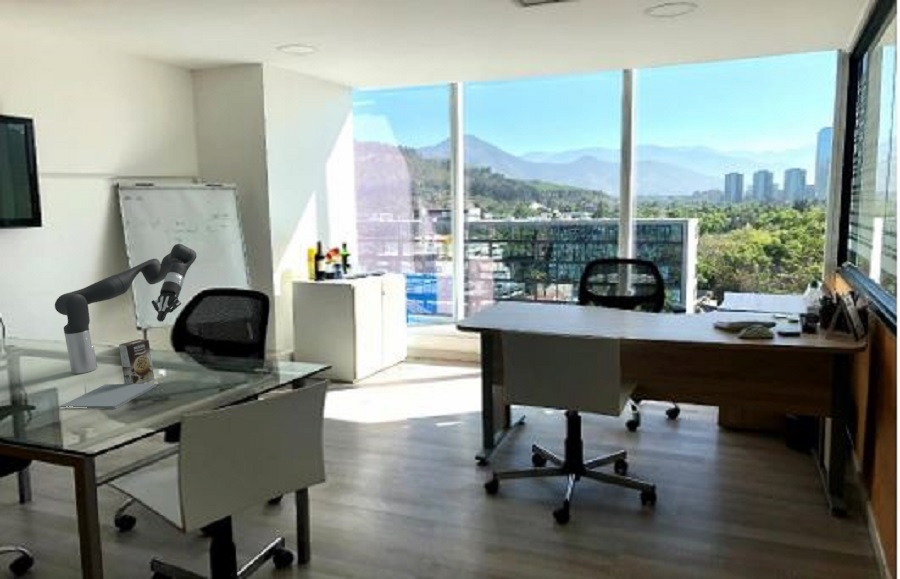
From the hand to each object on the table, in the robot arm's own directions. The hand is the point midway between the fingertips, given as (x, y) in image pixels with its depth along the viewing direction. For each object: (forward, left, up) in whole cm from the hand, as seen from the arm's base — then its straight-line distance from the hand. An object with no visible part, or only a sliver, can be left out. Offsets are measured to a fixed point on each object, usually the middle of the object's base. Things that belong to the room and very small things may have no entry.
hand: (159, 320), depth 280 cm
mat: (+35, 0, -20) cm, 40 cm away
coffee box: (+17, 0, -21) cm, 27 cm away
